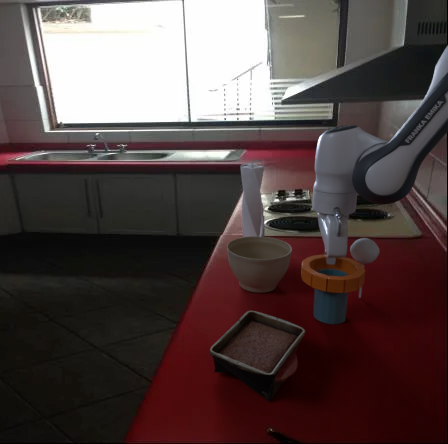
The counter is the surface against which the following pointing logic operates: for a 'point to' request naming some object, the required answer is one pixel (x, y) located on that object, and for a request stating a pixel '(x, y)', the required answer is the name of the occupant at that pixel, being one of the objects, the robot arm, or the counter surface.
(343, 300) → the cup
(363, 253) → the lollipop
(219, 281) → the counter surface
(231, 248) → the planter bowl
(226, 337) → the baking dish
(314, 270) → the ring
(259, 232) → the skyscraper
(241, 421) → the counter surface
